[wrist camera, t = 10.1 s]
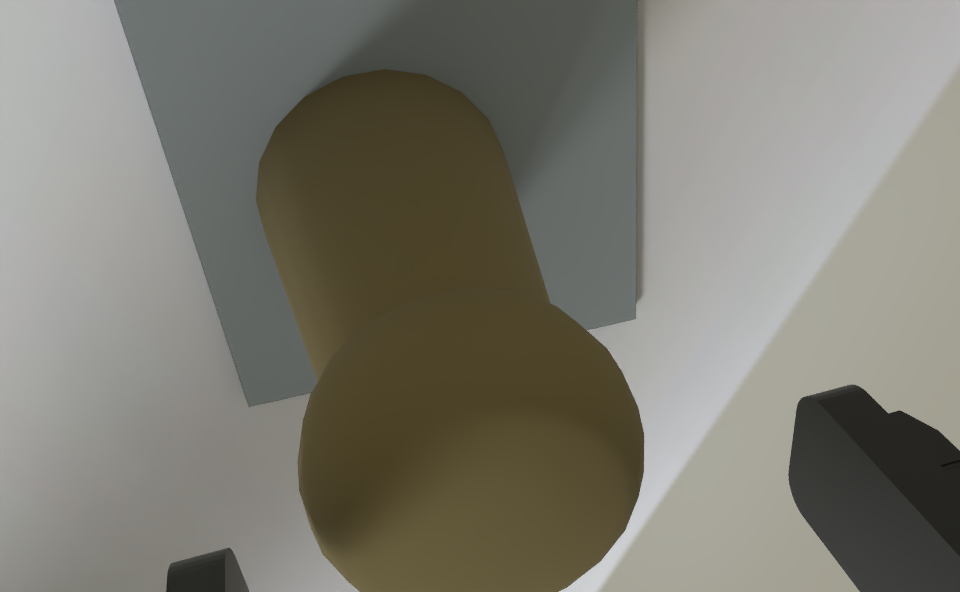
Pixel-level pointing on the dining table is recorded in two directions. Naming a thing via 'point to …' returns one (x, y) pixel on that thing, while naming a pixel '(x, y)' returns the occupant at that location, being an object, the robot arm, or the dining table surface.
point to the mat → (408, 48)
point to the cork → (438, 352)
